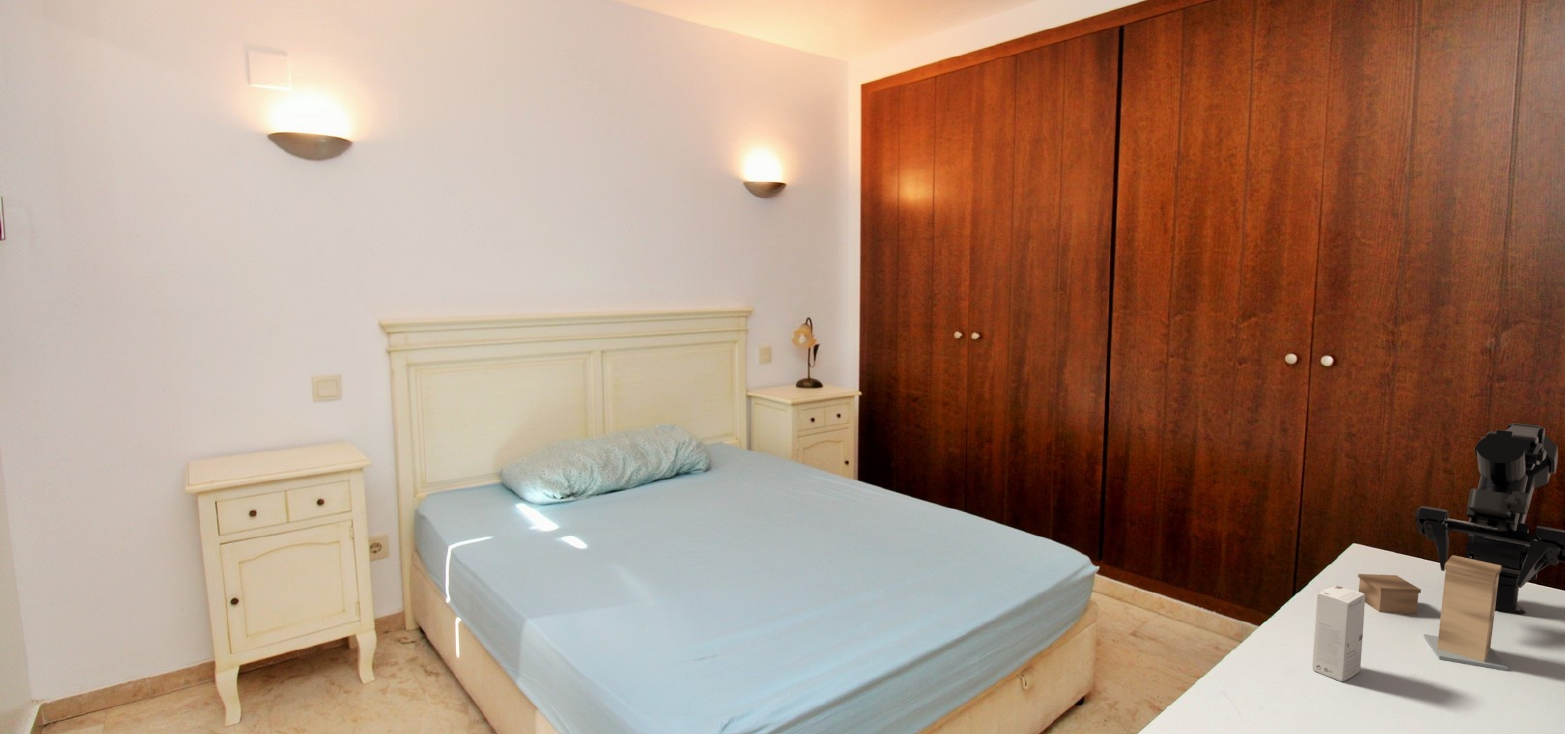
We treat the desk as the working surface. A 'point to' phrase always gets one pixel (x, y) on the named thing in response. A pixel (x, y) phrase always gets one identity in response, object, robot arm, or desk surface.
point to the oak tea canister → (1468, 607)
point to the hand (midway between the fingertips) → (1479, 577)
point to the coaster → (1489, 662)
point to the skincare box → (1338, 632)
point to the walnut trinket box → (1389, 593)
